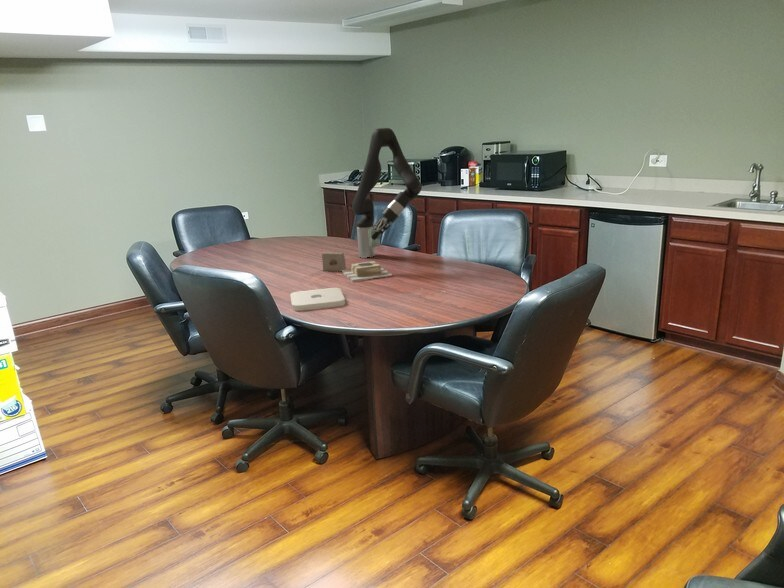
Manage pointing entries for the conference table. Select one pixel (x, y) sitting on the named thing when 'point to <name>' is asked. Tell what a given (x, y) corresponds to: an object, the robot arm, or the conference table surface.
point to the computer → (317, 299)
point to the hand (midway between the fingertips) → (371, 237)
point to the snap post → (372, 242)
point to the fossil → (333, 261)
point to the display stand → (365, 271)
